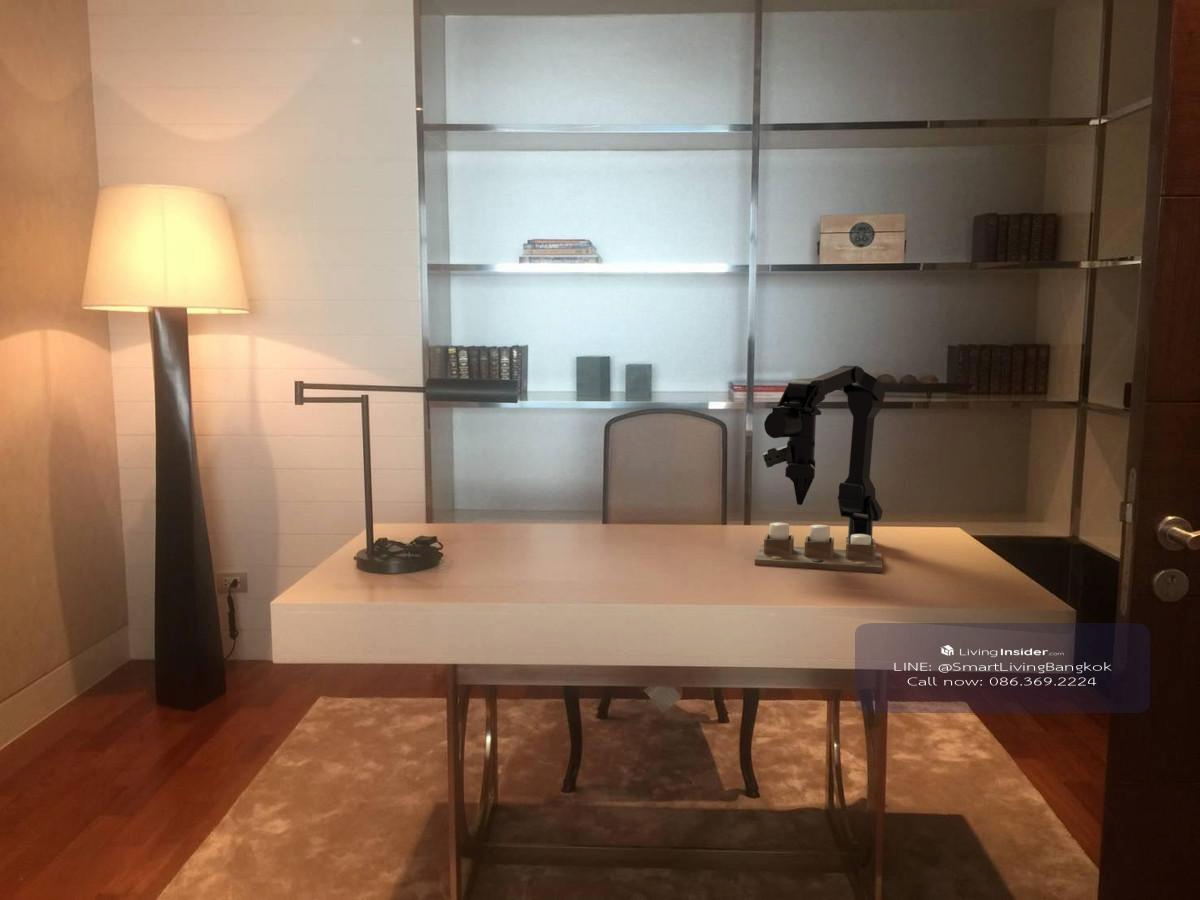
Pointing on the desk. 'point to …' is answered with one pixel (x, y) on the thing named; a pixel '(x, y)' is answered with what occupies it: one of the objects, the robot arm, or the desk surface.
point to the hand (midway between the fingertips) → (799, 504)
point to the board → (819, 555)
